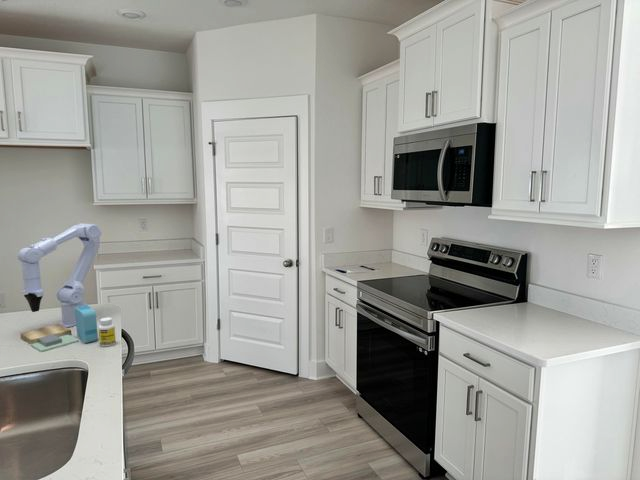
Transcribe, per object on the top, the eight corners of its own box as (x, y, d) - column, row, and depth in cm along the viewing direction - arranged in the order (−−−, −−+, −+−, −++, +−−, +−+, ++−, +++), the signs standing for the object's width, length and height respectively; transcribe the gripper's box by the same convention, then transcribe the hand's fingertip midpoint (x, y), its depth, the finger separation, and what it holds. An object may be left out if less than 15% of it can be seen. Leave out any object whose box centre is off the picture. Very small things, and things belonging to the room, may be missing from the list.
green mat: (68, 335, 175) (67, 334, 175) (79, 341, 168) (79, 340, 168) (30, 345, 165) (30, 344, 165) (41, 352, 158) (41, 350, 158)
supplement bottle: (100, 347, 162) (97, 322, 161) (99, 343, 167) (97, 318, 165) (116, 345, 164) (114, 319, 163) (115, 340, 169) (113, 315, 168)
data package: (98, 341, 169) (95, 310, 167) (85, 344, 166) (82, 313, 164) (89, 333, 178) (86, 304, 176) (77, 336, 175) (74, 306, 173)
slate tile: (53, 337, 171) (53, 334, 171) (62, 342, 166) (61, 338, 166) (37, 342, 167) (37, 338, 167) (46, 346, 162) (45, 343, 162)
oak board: (59, 328, 184) (58, 323, 183) (71, 334, 176) (71, 329, 176) (20, 338, 173) (20, 333, 173) (31, 345, 165) (31, 339, 165)
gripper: (13, 277, 176) (17, 310, 178) (27, 282, 167) (30, 317, 169) (33, 274, 181) (37, 306, 183) (47, 279, 172) (51, 312, 174)
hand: (35, 311), depth 176 cm, fingers closed
